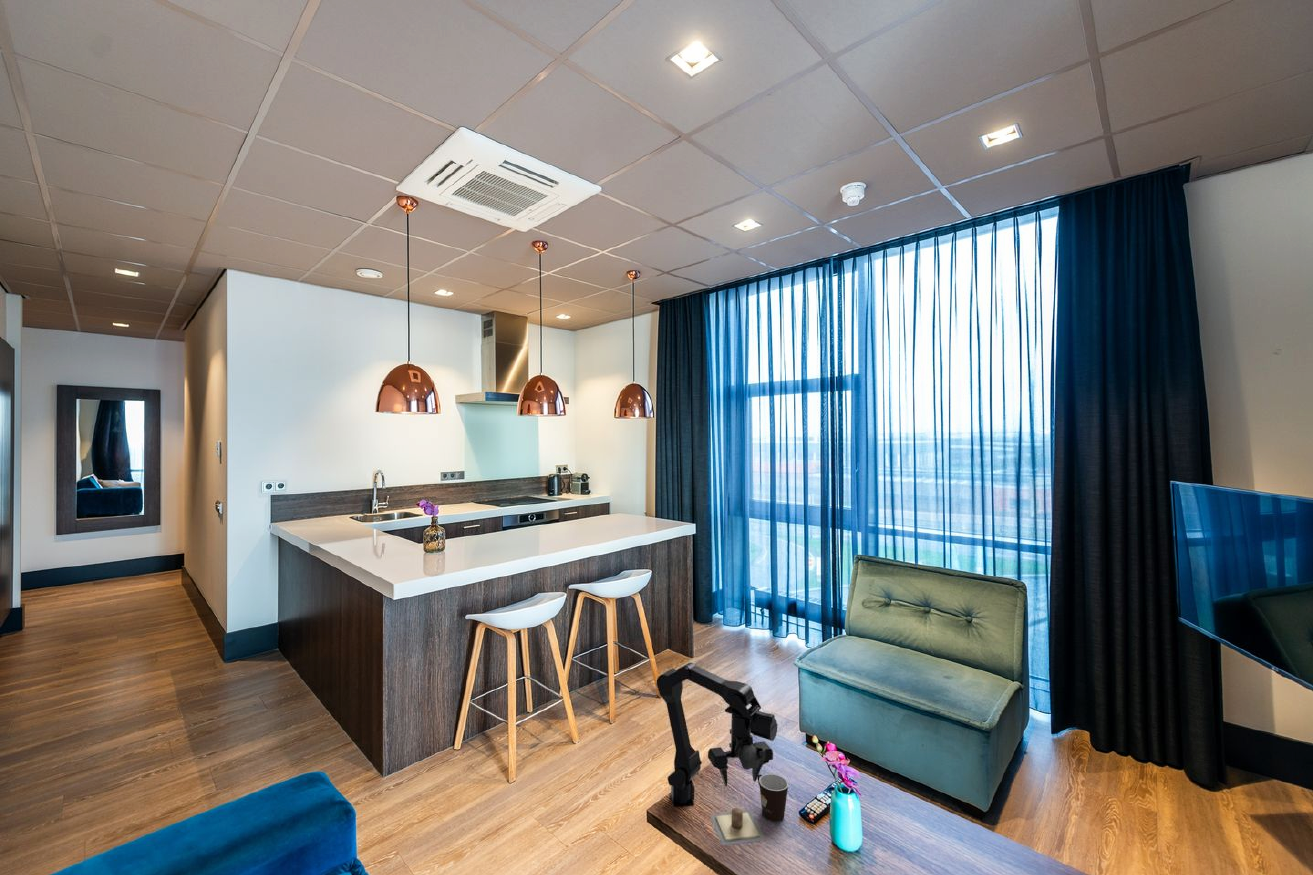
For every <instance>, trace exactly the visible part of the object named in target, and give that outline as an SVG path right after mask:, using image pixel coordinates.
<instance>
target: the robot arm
mask: <svg viewBox="0 0 1313 875" xmlns="http://www.w3.org/2000/svg"><path fill="white" fill-rule="evenodd" d="M686 680H688V681H690V682H692V683H694V684H697V685H698V686H699V687H702V688H704V689H706V690H708V691H711V692H712V693H714V694H716V695H718V696H719V697H721V698H722V700H724V702H725V703H726V705H728V706H727V707H726V708H725V709H724V712H726V713H728V714H731V718H730V720H731V723H730V724H731V725H730V727H731V728H730V729H729V734H730V740H731V741H730V743H729V744H728V745H729V748H730V750H728V751H725V750H724V749H723V748H722V747H721V746H720V747H719V746H717V747H711V748H709V749H708V751H707V759H708V760H709V762H710V763H711V765H712V766H713V768H714V769H715V768H716V769H718V770H719V772H720V775H721V779H722V782H723V785H724V786H725V787H728V769H729V766H728V762H729V760H733V759H739V762H740V764H741V767H742V768H743V769H744V770H745V771H746V770H751V769H752V770H751V771H752V772H751V773H752V781H753V782H755V783H756V782H757V781H758V775H760V772H761V770H762V768H763V765H765V764H768V763H770V761H773V759H774V751H773V749H772V748H771V746H769V744H768V743H767V742H766V741H757V742H756V741H755V742H754V738H753V736H756V737H759V738H762V739H765V740H768V741H771V742H774V740H775V739H776V737H777V732H778V727H779V726H778V722H777V720H776V717H775V714H773V713H768V712H765V711H761V709H762V706H761V704H760V703H759V701H758V699H757V697H756V695H755V693H754V691H753V688H752V686H751V685H749V683H745V682H741V681H736V680H728V679H725V678H723V677H721V676H718V675H716V674H715V673H712V672H710V671H709V670H706V669H704V668H702V667H700V666H698V665H696V664H695V663H693V662H688V663H686V664H684V665H682V666H681V667H679V668H678V669H676V668H670V669H668V670H667V671H665V672H663V673H662V674H660V675H659V676H658V678H657V679H656V682H655V683H656V687H657V690H658V693H659V696H660V698H662V700H663V701H664V703H665V704H666V705H665V706H666V709H667V713H668V714H667V715H668V718H669V719H668V720H669V723H670V729H671V732H672V733H671V734H672V736H673V737H672V738H673V743H674V747H675V748H674V749H675V754H674V761H673V768H674V770H673V772H671V773H670V774H669V775H668V776H667V777H666V779H667V782H668V785H670V787H671V788H670V793H669V797H670V800H671V804H672V806H673V808H683V807H692V806H695V802H694V800H695V785H694V782H693V780H692V779H693V778H695V777H696V775H698V774H699V772H700V770H701V767H702V760H701V756H700V751H699V750H695V749H694V748H693V747H692V744H691V740H690V736H689V730H688V725H687V720H686V718H685V717H686V716H685V711H684V706H683V702H682V695H683V688H684V686H683V682H684V681H686ZM749 705H750V707H749V708H747V707H748V706H749ZM752 735H753V736H752ZM670 794H671V795H670Z"/></svg>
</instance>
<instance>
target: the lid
mask: <svg viewBox="0 0 1313 875" xmlns="http://www.w3.org/2000/svg"><path fill="white" fill-rule="evenodd" d="M731 813H732V814H730V815H721V816H716V820H717V822H718V824H719V827H720V829H721V831H722V833H723V836H724V838H725V840H726V841H731V840H740V839H748V838H756V837H760V835H759V833H758V831H757V829H756V828H755V826H754V824H753V822H752V820H751V818H750V817H749V815H748V813H743V810H742V809H741V808H739V807H733V808H732V809H731Z"/></svg>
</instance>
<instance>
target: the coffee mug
mask: <svg viewBox="0 0 1313 875" xmlns="http://www.w3.org/2000/svg"><path fill="white" fill-rule="evenodd" d="M757 783H758V787H759V791H760V792H759V794H760V801H761V802H760V803H761V812H762V816H763V818H764V819H766V820H767V821H769V822H772V823H779V822H782V821H784V819H785V812H786V805H787V798H788V789H789V783H788V781H787V778H785V777H783V776H781V775H779V774H775V773H767V774H760V773H759V775H758V777H757Z"/></svg>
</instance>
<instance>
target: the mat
mask: <svg viewBox="0 0 1313 875" xmlns="http://www.w3.org/2000/svg"><path fill="white" fill-rule="evenodd" d="M742 811H743V810H742ZM743 813H748V815H749V817H750V818H751V820H752V822H753V824H754V826H755V828H756V829H757V831H758V833H759V835H760V837H756V838H748V839H740V840H731V841H726V840H725V838H724V836H723V833H722V831H721V829H720V827H719V824H718V822H717V820H716V816H721V815H730V814H732V812H725V813H717V814H709V818H710V820H711V822H712V824H713V827H714V829H715V832H716V834H717V837H718V839H719V841H720V843H721V845H722V847H723V846H730V845H731V846H733V845H741V844H747V843H756V842H757V843H758V842H763V841H767V838H766V836H765V835H764V833H763V831H762V829H761V827H760V825H759V824H758V821H757V820H756V818H755V816H754V815H753V813H752V811H751V810H744V811H743Z"/></svg>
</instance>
